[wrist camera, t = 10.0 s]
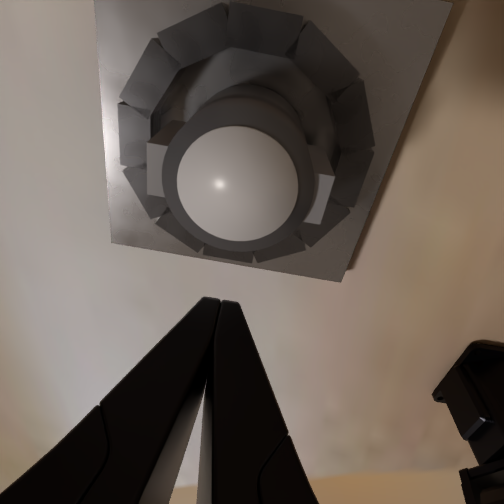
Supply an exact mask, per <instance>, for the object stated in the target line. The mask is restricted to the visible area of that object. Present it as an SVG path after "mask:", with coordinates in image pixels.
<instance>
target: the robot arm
mask: <svg viewBox="0 0 504 504" xmlns="http://www.w3.org/2000/svg"><path fill="white" fill-rule="evenodd" d="M205 385H206V387H205ZM204 390H205V394H204ZM203 394H204V404H203V418H202V432H201V447H200V461H199V475H198V490H197V504H319V503H318V501H317V498H316V496H315V494H314V492H313V490H312V488H311V486H310V484H309V481H308V479H307V476H306V474H305V471H304V469H303V467H302V464H301V462H300V459H299V457H298V454H297V452H296V449H295V447H294V444H293V441H292V439H291V436H289V435H288V433H289V432H288V429H287V426H286V424H285V421H284V418H283V416H282V413H281V411H280V408H279V405H278V403H277V400H276V398H275V395H274V392H273V390H272V387H271V385H270V382H269V379H268V377H267V374H266V372H265V369H264V366H263V364H262V361H261V358H260V356H259V353H258V351H257V348H256V345H255V343H254V340H253V338H252V335H251V332H250V330H249V327H248V325H247V322H246V319H245V317H244V314H243V312H242V309H241V306H240V304H239V303H238V302H235V301H229V300H222V301H220V299H217V298H211V297H203V298H202V299H200V300H199V301H198V302H197V304H196V305H195V306H194V307H193V308H192V309H191V310H190V311H189V312H188V313H187V314H186V315H185V316H184V317H183V318H182V319H181V320H180V321H179V322H178V323H177V324H176V325H175V326H174V327H173V328H172V329H171V330H170V331H169V332H168V333H167V334H166V335H165V336H164V337H163V338H162V339H161V340H160V341H159V342H158V343H157V344H156V345H155V346H154V347H153V348H152V349H151V350H150V351H149V352H148V353H147V354H146V355H145V356H144V357H143V358H142V360H141V361H140V362H139V363H138V364H137V365H136V366H135V367H134V368H133V369H132V370H131V371H130V372H129V373H128V374H127V375H126V376H125V377H124V378H123V379H122V380H121V381H120V382H119V383H118V384H117V385H116V386H115V387H114V388H113V389H112V390H111V391H110V392H109V393H108V394H107V395H106V396H105V397H104V398H103V399H102V400H101V401H100V403H99V404H100V406H99V405H96V406H95V407H94V408H93V409H92V410H91V411H90V412H89V413H88V414H87V415H86V416H85V417H84V418H83V419H82V420H81V421H80V422H79V423H78V424H77V425H76V426H75V427H74V428H73V429H72V430H71V431H70V432H69V433H68V434H67V435H66V436H65V437H64V438H63V439H62V440H61V441H60V442H59V443H58V444H57V445H56V446H55V447H54V448H52V449H51V450H50V451H49V452H48V453H47V454H46V455H44V456H43V457H42V458H41V459H40V460H39V461H38V462H36V463H35V464H34V465H33V466H32V467H31V468H30V469H28V470H27V471H26V472H25V473H24V474H23V475H22V476H21V477H19V478H18V479H17V480H16V481H15V482H13V483H12V484H11V485H10V486H9V487H8V488H6V489H5V490H4V491H3V492H2V493H0V504H169V501H170V498H171V494H172V491H173V488H174V485H175V482H176V479H177V476H178V473H179V470H180V467H181V463H182V460H183V457H184V454H185V451H186V448H187V445H188V442H189V439H190V435H191V432H192V429H193V426H194V423H195V420H196V417H197V414H198V411H199V408H200V404H201V401H202V398H203ZM432 396H433V399H434V401H436V402H441V403H446V404H447V406H448V408H449V410H450V413H451V415H452V417H453V419H454V422H455V424H456V426H457V428H458V430H459V433H460V435H461V437H462V438H463V440H466V441H468V442H469V445H470V447H471V449H472V451H473V453H474V455H475V458H476V460H477V462H478V464H479V466H476V467H473V468H470V469H468V468H465V469H462V470H459V474H460V478H461V482H462V484H461V486H462V490H463V494H464V497H465V502H466V504H504V348H502V347H496V346H490V345H484V344H477V343H475V344H472V345H470V346H469V347H468V348H467V349H466V350H465V351H464V353H463V354H462V355H461V357H460V358H459V359H458V361H457V362H456V363H455V364H454V366H453V367H452V368H451V370H450V371H449V372H448V373H447V375H446V376H445V377H444V379H443V380H442V381H441V383H440V384H439V385H438V386H437V388H436V389H435V390H434V392H433V393H432Z"/></svg>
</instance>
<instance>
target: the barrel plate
mask: <svg viewBox="0 0 504 504" xmlns="http://www.w3.org/2000/svg"><path fill="white" fill-rule="evenodd" d="M452 5H453V3H451V2H446V1H441V0H94V9H95V23H96V36H97V50H98V64H99V78H100V92H101V106H102V119H103V133H104V147H105V161H106V175H107V189H108V203H109V216H110V230H111V243H115V244H121V245H127V246H133V247H138V248H144V249H150V250H156V251H161V252H167V253H173V254H179V255H184V256H190V257H196V258H202V259H208V260H213V261H219V262H225V263H231V264H236V265H242V266H248V267H254V268H259V269H265V270H271V271H277V272H282V273H288V274H294V275H300V276H306V277H311V278H317V279H323V280H329V281H334V282H340V283H341V281H342V279H343V276H344V274H345V271H346V269H347V266H348V264H349V261H350V259H351V256H352V254H353V251H354V249H355V246H356V244H357V242H358V239H359V237H360V234H361V232H362V229H363V227H364V224H365V222H366V219H367V217H368V214H369V212H370V209H371V207H372V204H373V202H374V199H375V197H376V194H377V192H378V189H379V187H380V184H381V182H382V179H383V177H384V174H385V172H386V169H387V167H388V164H389V162H390V159H391V157H392V155H393V152H394V150H395V147H396V145H397V142H398V140H399V137H400V135H401V132H402V130H403V127H404V125H405V122H406V120H407V117H408V115H409V112H410V110H411V107H412V105H413V102H414V100H415V97H416V95H417V92H418V90H419V87H420V85H421V82H422V80H423V77H424V75H425V72H426V70H427V67H428V65H429V63H430V60H431V58H432V55H433V53H434V50H435V48H436V45H437V43H438V40H439V38H440V35H441V33H442V30H443V28H444V25H445V23H446V20H447V18H448V15H449V13H450V10H451V8H452ZM237 85H257V86H261V87H265V88H267V89H269V90H272V91H274V92H275V93H277V94H279V95H280V96H281V97H283V98H284V99H285V100H286V101H287V102H288V103H289V104H290V105H291V106H292V107H293V109H294V110H295V112H296V113H297V115H298V117H299V119H300V121H301V124H302V126H303V130H304V134H305V138H306V142H307V144H309V145H314V146H320V147H324V149H325V152H326V154H327V157H328V159H329V162H330V165H331V167H332V170H333V172H334V175H335V179H334V182H333V185H332V188H331V192H330V195H329V198H328V201H327V204H326V208H325V211H324V214H323V217H322V220H321V223H320V225H319V224H313V223H308V222H302V223H301V224H300V225H299V226H298V227H297V229H296V230H295V231H294V232H293V233H291V234H290V235H289V236H288V237H287V238H285V239H283V240H282V241H280V242H279V243H277V244H274V245H272V246H270V247H267V248H264V249H260V250H256V251H247V252H236V251H228V250H223V249H219V248H216V247H213V246H211V245H208V244H206V243H204V242H202V241H201V240H199V239H197V238H196V237H194V236H193V235H192V234H190V233H189V232H188V231H187V230H186V229H185V228H184V227H183V226H182V225H181V224H180V223H179V222H178V220H177V219H176V218H175V216H174V215H173V213H172V212H171V210H170V208H169V206H168V204H167V201H166V198H165V197H159V196H154V195H148V194H147V142H148V141H149V140H150V139H151V138H152V137H153V136H155V135H156V134H157V133H158V132H159V131H160V130H161V129H162V128H164V127H165V126H166V125H167V124H168V123H169V122H170V121H172V120H178V121H184V122H187V121H188V120H189V119H190V118H191V117H192V116H193V115H194V114H195V113H196V112H197V111H198V110H199V109H200V108H201V107H202V105H203V104H204V103H205V102H206V101H207V100H209V99H210V98H211V97H212V96H213V95H215V94H216V93H218V92H220V91H222V90H224V89H226V88H229V87H232V86H237Z"/></svg>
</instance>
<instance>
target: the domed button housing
mask: <svg viewBox="0 0 504 504" xmlns="http://www.w3.org/2000/svg"><path fill="white" fill-rule="evenodd" d="M334 179H335V175H334V172H333V170H332V167H331V165H330V162H329V159H328V157H327V154H326V152H325V149H324V147H320V146H314V145H309V144H307V142H306V138H305V134H304V130H303V126H302V124H301V121H300V119H299V117H298V115H297V113H296V112H295V110H294V109H293V107H292V106H291V105H290V104H289V103H288V102H287V101H286V100H285V99H284V98H283V97H281V96H280V95H279V94H277V93H275V92H274V91H272V90H269V89H267V88H265V87H261V86H257V85H237V86H232V87H229V88H226V89H224V90H222V91H220V92H218V93H216V94H215V95H213V96H212V97H211V98H210V99H209V100H207V101H206V102H205V103H204V104H203V105H202V107H201V108H200V109H199V110H198V111H197V112H196V113H195V114H194V115H193V116H192V117H191V118H190V119H189V120H188V121H187V122H184V121H178V120H172V121H170V122H169V123H168V124H167V125H166V126H165V127H164V128H162V129H161V130H160V131H159V132H158V133H157V134H156V135H155V136H153V137H152V138H151V139H150V140H149V141H148V142H147V194H148V195H154V196H159V197H165V198H166V201H167V204H168V206H169V208H170V210H171V212H172V213H173V215H174V216H175V218H176V219H177V220H178V222H179V223H180V224H181V225H182V226H183V227H184V228H185V229H186V230H187V231H188V232H189V233H190V234H192V235H193V236H194V237H196V238H197V239H199V240H201V241H202V242H204V243H206V244H208V245H211V246H213V247H216V248H219V249H223V250H228V251H236V252H247V251H256V250H260V249H264V248H267V247H270V246H272V245H274V244H277V243H279V242H280V241H282V240H283V239H285V238H287V237H288V236H289V235H290V234H291V233H293V232H294V231H295V230H296V229H297V227H298V226H299V225H300V224H301V223H302V222H308V223H313V224H319V225H320V223H321V220H322V217H323V214H324V211H325V208H326V204H327V201H328V198H329V195H330V192H331V188H332V185H333V182H334Z"/></svg>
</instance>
